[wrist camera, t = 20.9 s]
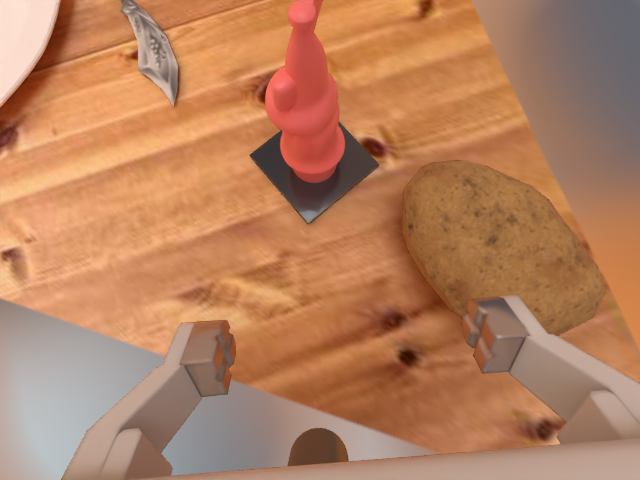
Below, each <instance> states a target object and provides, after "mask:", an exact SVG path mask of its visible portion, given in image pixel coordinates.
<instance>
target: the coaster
mask: <svg viewBox="0 0 640 480" xmlns="http://www.w3.org/2000/svg"><path fill="white" fill-rule="evenodd" d="M338 126H339V127H340V129H341V130H342V132H343V135H344V139H345V150H344V154H343V156H342V158H341V159H340V161H339V162H338V163H337V166H336V169H335V171H334V173H333V174H332V175H331V176H330V177H329V178H328V179H327V180H325V181H322V182H319V183H310V182H306V181H304V180H302V179H300V178H299V177H298V176H297V175H296V174H295V172H294V170H293V168H291V167H290V166H289V165H288V164H287V163H286V161H285V160H284V158H283V156H282V153H281V149H280V141H281V136H282V130H281V131H280V132H279V133H277V134H276V135H275V136H273V137H272V138H271V139H270V140H268V141H267V142H266V143H264V144H263V145H262V146H261V147H259V148H258V149H257V150H255V151H254V152H253V153H252V154H250V157H251V158H252V160H253V161H254V162H255V163H256V164H257V165H258V167H259V168H260V169H261V170H262V171H263V172H264V174H265V175H266V176H267V177H268V178H269V179H270V181H271V182H272V183H273V184H274V185H275V186H276V188H277V189H278V190H279V191H280V192H281V193H282V194H283V196H284V197H285V198H286V199H287V200H288V201H289V203H290V204H291V205H292V206H293V207H294V208H295V210H296V211H297V212H298V213H299V214H300V215H301V217H302V218H303V219H304V220H305V221H306V222H307V224H309V223H311V222H312V221H313V220H314V219H315V218H317V217H318V216H319V215H320V214H321V213H323V212H324V211H325V210H326V209H328V208H329V207H330V206H331V205H332V204H334V203H335V202H336V201H337V200H338V199H340V198H341V197H342V196H343V195H345V194H346V193H347V192H348V191H349V190H351V189H352V188H353V187H354V186H355V185H357V184H358V183H359V182H360V181H361V180H363V179H364V178H365V177H366V176H368V175H369V174H370V173H371V172H372V171H374V170H375V169H376V168H377V167H378V166H379V164H378V163H377V162H376V161H375V160H374V159H373V158H372V157H371V155H370V154H369V153H368V152H367V151H366V150H365V149H364V148H363V147H362V146H361V145H360V144H359V143H358V142H357V141H356V139H355V138H354V137H353V136H352V135H351V134H350V133H349V132H348V131H347V130H346V129H345V128H344V127H343V126H342V124H341V123H340V122H338Z"/></svg>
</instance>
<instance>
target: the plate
mask: <svg viewBox="0 0 640 480" xmlns="http://www.w3.org/2000/svg"><path fill="white" fill-rule="evenodd" d="M60 2H61V0H0V107H1V106H2V105H3V104H4V103H5V102H6V101H7V100H8V99H9V97H10V96H11V95H12V94H13V93H14V92H15V91H16V90H17V89H18V88H19V86H20V85H21V84H22V82H23V81H24V80H25V79H26V77H27V76H28V75H29V74H30V72H31V71H32V70H33V68H34V67H35V65H36V64H37V62H38V61H39V59H40V58H41V56H42V55H43V53H44V51H45V49H46V46H47V44H48V42H49V39H50V37H51V35H52V32H53V28H54V25H55V22H56V19H57V15H58V11H59V6H60Z"/></svg>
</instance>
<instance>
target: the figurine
mask: <svg viewBox="0 0 640 480" xmlns="http://www.w3.org/2000/svg"><path fill="white" fill-rule="evenodd" d="M322 1H323V0H300V1H297V2H295V3H293V4H292V5H291V7H290V8H289V11H288V19H289V23H290V24H291V26H292V27H293V30H292V34H291V37H290V40H289V44H288V48H287V53H286V61H285V66H284V67H282V68H281V69H279V70H278V71H277V72H276V73H275V74H274V76H273V77H272V78H271V80H270V82H269V84H268V87H267V90H266V96H265V106H266V111H267V114H268V116H269V118H270V120H271V121H272V122H273V123H274V125H275V126H277V127H278V128H279V129H280V130H282V136H281V141H280V149H281V153H282V156H283V158H284V160H285V161H286V163H287V164H288V165H289V166H290V167H291V168H293V170H294V172H295V174H296V175H297V176H298V177H299V178H300V179H302V180H304V181H306V182H310V183H319V182H322V181H325V180H327V179H328V178H329V177H330V176H331V175H332V174H333V173H334V171H335V169H336V166H337V163H338V162H339V161H340V159H341V158H342V156H343V154H344V150H345V139H344V135H343V132H342V130H341V129H340V127H339V126H338V122H339V105H338V102H337V101H338V92H337V86H336V82H335V80H334V78H333V77H332V75H331V74H330V73H329V72H328V67H327V59H326V55H325V51H324V48H323V46H322V44H321V42H320V41H319V39H318V38H317V36H316V35H315V33H314V30H315V26H316V22H317V19H318V15H319V12H320V8H321V5H322Z"/></svg>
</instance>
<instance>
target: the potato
mask: <svg viewBox="0 0 640 480" xmlns="http://www.w3.org/2000/svg"><path fill="white" fill-rule="evenodd" d="M401 229H402V232H403V235H404V239H405V242H406V245H407V249H408V252H409V253H410V255H411V257H412V259H413V260H414V262H415V264H416V265H417V267H418V269H419V270H420V272H421V273H422V275H423V276H424V277H425V279H426V280H427V282H428V283H429V284H430V286H431V287H432V288H433V290H434V291H435V292H436V293H437V295H438V296H439V297H440V298H441V299H442V301H443V302H444V303H445V304H446V305H447V306H448V308H449V309H451V310H452V311H454V312H455V313H457V314H458V315H460V316H461V317H463V316H464V315H465V314H466V313H467V312H468V311H467V309H466V304H467V301H468V300H469V299H477V298H487V297H497V296H498V297H500V296H511V295H516V296H518V297H519V298H520V299H521V300H522V301H523V303H524V304H525V305H526V307H527V308H528V309H529V310H530V312H531V313H532V314H533V315H534V317H535V318H536V319H537V320H538V322H539V323H540V324H541V325H542V327H543V328H544V329H545V331H546V332H547V333H548V334H554V335H556V336H558V335H560V334H562V333H564V332H566V331H568V330H570V329H572V328H574V327H576V326H578V325H580V324H582V323H584V322H586V321H588V320H590V319H592V318H593V317H594V315H595V313H596V311H597V309H598V307H599V305H600V303H601V301H602V299H603V297H604V295H605V293H606V292H605V289H604V286H603V283H602V279H601V276H600V272H599V268H598V266H597V264H596V263H595V262H594V260H593V259H592V257H591V256H590V255H589V253H588V252H587V250H586V249H585V248H584V246H583V245H582V243H581V242H580V241H579V239H578V238H577V237H576V236H575V234H574V233H573V232H572V231H571V229H570V228H569V227H568V226H567V224H566V223H565V222H564V221H563V219H562V218H561V216H560V215H559V213H558V212H557V211H556V209H555V208H554V206H553V205H552V203H551V202H550V200H549V199H548V198H546V197H545V196H544V195H542V194H541V193H540V192H539V191H537V190H536V189H535V188H533V187H532V186H531V185H529V184H526V183H524V182H522V181H519V180H517V179H514V178H512V177H510V176H507V175H505V174H503V173H501V172H499V171H497V170H494V169H492V168H490V167H488V166H485V165H480V164H476V163H471V162H467V161H461V160H451V161H443V162H435V163H430V164H427V165H424V166H421V168H420V169H419V170H418V171H417V173H416V174H415V175H414V177H413V178H412V179H411V180H410V182H409V183H408V184H407V186H406V187H405V188H404V193H403V206H402V223H401Z"/></svg>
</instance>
